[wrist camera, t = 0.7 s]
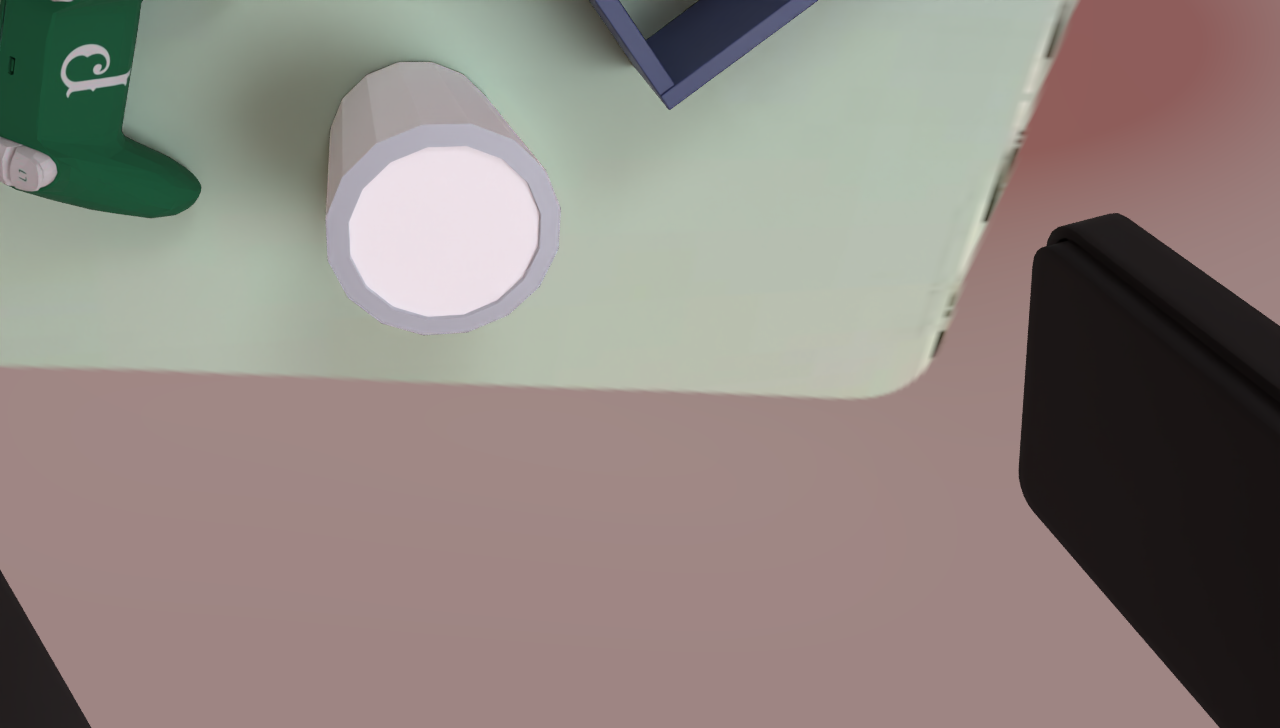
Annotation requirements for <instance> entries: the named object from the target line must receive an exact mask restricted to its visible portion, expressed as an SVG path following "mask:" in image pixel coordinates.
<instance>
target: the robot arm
mask: <svg viewBox="0 0 1280 728" xmlns="http://www.w3.org/2000/svg"><path fill="white" fill-rule="evenodd" d="M1032 268H1033V269H1032V283H1031V297H1030V311H1029V327H1028V340H1027V355H1026V370H1025V385H1024V399H1023V414H1022V429H1021V443H1020V458H1019V480H1020V485H1021V489H1022V492H1023V494H1024V497H1025V499H1026V501H1027V503H1028V505H1029V506H1030V508H1031V509H1032V510H1033V512H1034V513H1035V514H1036V515H1037V516H1038V518H1039V519H1040V520H1041V521H1042V522H1043V523H1044V524H1045V526H1046V527H1047V528H1048V529H1049V530H1050V531H1051V533H1052V534H1053V535H1054V536H1055V537H1056V538H1057V539H1058V540H1059V542H1060V543H1061V544H1062V545H1063V547H1065V549H1066V550H1067V551H1068V552H1069V553H1070V554H1071V556H1072V557H1073V558H1074V559H1075V560H1076V562H1077V563H1078V564H1079V565H1080V566H1081V567H1082V569H1083V570H1084V571H1085V572H1086V573H1087V574H1088V575H1089V577H1090V578H1091V579H1092V580H1093V581H1094V582H1095V584H1096V585H1097V586H1098V587H1099V588H1100V589H1101V591H1102V592H1103V593H1104V594H1105V595H1106V596H1107V598H1108V599H1109V600H1110V601H1111V602H1112V603H1113V604H1114V606H1115V607H1116V608H1117V609H1118V610H1119V611H1120V612H1121V614H1122V615H1123V616H1124V617H1125V618H1126V620H1127V621H1128V622H1129V623H1130V624H1131V625H1132V627H1133V628H1134V629H1135V630H1136V631H1137V632H1138V633H1139V635H1140V636H1141V637H1142V638H1143V639H1144V640H1145V642H1146V643H1147V644H1148V645H1149V646H1150V647H1151V648H1152V650H1153V651H1154V652H1155V653H1156V654H1157V656H1158V657H1159V658H1160V659H1161V660H1162V661H1163V662H1164V664H1165V665H1166V666H1167V667H1168V668H1169V669H1170V671H1171V672H1172V673H1173V674H1174V675H1175V676H1176V678H1177V679H1178V680H1179V681H1180V682H1181V683H1182V684H1183V686H1184V687H1185V688H1186V689H1187V690H1188V691H1189V693H1190V694H1191V695H1192V696H1193V697H1194V698H1195V699H1196V701H1197V702H1198V703H1199V704H1200V705H1201V706H1202V707H1203V709H1204V710H1205V711H1206V712H1207V713H1208V715H1209V716H1210V717H1211V718H1212V719H1213V720H1214V722H1215V723H1216V724H1217V725H1218V726H1219V727H1220V728H1280V326H1279V325H1278V324H1276V323H1275V322H1273V321H1272V320H1270V319H1269V318H1268V317H1266V316H1265V315H1263V314H1262V313H1261V312H1259V311H1258V310H1256V309H1255V308H1254V307H1252V306H1250V305H1249V304H1248V303H1247V302H1245V301H1244V300H1242V299H1241V298H1239V297H1238V296H1236V295H1235V294H1234V293H1233V292H1231V291H1230V290H1228V289H1227V288H1225V287H1224V286H1223V285H1221V284H1220V283H1218V282H1217V281H1216V280H1214V279H1213V278H1211V277H1210V276H1209V275H1207V274H1206V273H1204V272H1203V271H1202V270H1200V269H1199V268H1197V267H1196V266H1195V265H1193V264H1192V263H1190V262H1189V261H1188V260H1186V259H1184V258H1183V257H1182V256H1181V255H1179V254H1178V253H1176V252H1175V251H1173V250H1172V249H1171V248H1169V247H1168V246H1166V245H1165V244H1164V243H1162V242H1161V241H1159V240H1158V239H1157V238H1155V237H1154V236H1152V235H1151V234H1150V233H1148V232H1147V231H1145V230H1144V229H1143V228H1141V227H1139V226H1138V225H1137V224H1136V223H1134V222H1133V221H1131V220H1130V219H1129V218H1127V217H1125V216H1123V215H1120V214H1118V213H1113V214H1107V215H1103V216H1099V217H1095V218H1092V219H1088V220H1084V221H1080V222H1076V223H1072V224H1068V225H1065V226H1061V227H1058V228H1057V229H1055V230H1054V231H1052V233H1051V235H1050V237H1049V239H1048V241H1047V246H1046V247H1042V248H1041V249H1039V250H1038V251H1037V252H1036V254H1035V256H1034V261H1033V267H1032ZM0 728H91V727H90V725H89V723H88V721H87V720H86V718H85V716H84V714H83V712H82V711H81V709H80V707H79V706H78V704H77V702H76V700H75V699H74V697H73V695H72V693H71V692H70V690H69V688H68V687H67V685H66V683H65V681H64V680H63V678H62V676H61V674H60V673H59V671H58V669H57V667H56V666H55V664H54V662H53V660H52V659H51V657H50V655H49V654H48V652H47V650H46V648H45V647H44V645H43V643H42V642H41V640H40V638H39V636H38V635H37V633H36V631H35V629H34V628H33V626H32V624H31V622H30V621H29V619H28V617H27V615H26V614H25V612H24V610H23V608H22V607H21V605H20V604H19V602H18V600H17V598H16V597H15V595H14V593H13V591H12V589H11V588H10V586H9V584H8V583H7V581H6V579H5V577H4V576H3V574H2V572H1V570H0Z"/></svg>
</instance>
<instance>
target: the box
mask: <svg viewBox="0 0 1280 728" xmlns="http://www.w3.org/2000/svg"><path fill="white" fill-rule="evenodd" d="M589 1H590V3H591V4H592V6H593V7H594V9H595V10H596V12H597V13H598V14H599V16H600V17H601V19H602V20H603V22H604V23H605V25H606V26H607V28H608V29H609V31H610V32H611V33H612V35H613V36H614V38H615V39H616V41H617V42H618V44H619V45H620V47H621V48H622V50H623V51H624V52H625V54H626V55H627V57H628V58H629V60H630V61H631V63H632V64H633V66H634V67H635V68H636V70H637V71H638V72H639V73H640V75H641V76H642V77H643V78H644V80H645V81H646V82H647V83H648V84H649V86H650V87H651V88H652V89H653V91H654V92H655V93H656V94H657V96H658V97H659V98H660V99H661V101H662V102H663V103H664V104H665V106H666V107H667V108H668V109H669V110H670V109H672V108H673V107H675V106H676V105H677V104H679V103H680V102H681V101H683V100H684V99H685V98H687V97H688V96H689V95H691V94H692V93H693V92H695V91H696V90H698V89H699V88H700V87H702V86H703V85H704V84H706V83H707V82H708V81H710V80H711V79H712V78H714V77H715V76H716V75H718V74H719V73H721V72H722V71H723V70H725V69H726V68H727V67H729V66H730V65H731V64H733V63H734V62H735V61H737V60H738V59H739V58H741V57H742V56H744V55H745V54H746V53H748V52H749V51H750V50H752V49H753V48H754V47H756V46H757V45H758V44H760V43H761V42H762V41H764V40H765V39H767V38H768V37H769V36H771V35H772V34H773V33H775V32H776V31H777V30H779V29H780V28H781V27H783V26H784V25H785V24H787V23H788V22H790V21H791V20H792V19H794V18H795V17H796V16H798V15H799V14H800V13H802V12H803V11H804V10H806V9H807V8H808V7H810V6H811V5H813V4H814V3H815V2H817V1H818V0H699V1H698V2H697V3H695V4H694V5H693V6H691V7H690V8H689V9H687V10H686V11H685V12H683V13H682V14H681V15H679V16H678V17H677V18H675V19H674V20H673V21H671V22H670V23H669V24H667V25H666V26H665V27H663V28H662V29H661V30H659V31H658V32H657V33H655V34H654V35H652V36H651V37H650V38H648V39H647V40H645V39H644V37H643V36H642V34H641V33H640V31H639V30H638V28H637V27H636V25H635V24H634V22H633V21H632V19H631V18H630V16H629V15H628V13H627V12H626V10H625V9H624V7H623V6H622V4H621V3H620V1H619V0H589Z"/></svg>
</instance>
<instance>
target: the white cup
mask: <svg viewBox="0 0 1280 728" xmlns="http://www.w3.org/2000/svg"><path fill="white" fill-rule="evenodd" d="M560 215H561V207H560V205H559V202H558V200H557V197H556V195H555V192H554V190H553V187H552V185H551V182H550V179H549V177H548V174H547V172H546V170H545V168H544V167H543V166H542V165H541V163H540V162H539V161H538V160H537V159H536V157H535V156H534V155H533V154H532V152H531V151H530V150H529V149H528V147H527V146H526V145H525V144H524V142H523V141H522V140H521V139H520V138H519V136H518V135H517V134H516V133H515V131H514V130H513V129H512V128H511V126H510V125H509V124H508V123H507V122H506V120H505V119H504V118H503V117H502V115H501V114H500V113H499V112H498V110H497V109H496V108H495V107H494V105H493V104H492V103H491V102H490V101H489V99H488V98H487V97H486V96H485V95H484V94H483V93H482V92H481V91H480V90H479V89H478V88H477V87H476V86H475V85H474V84H473V83H472V82H471V81H470V80H469V79H468V78H467V77H466V76H465V75H464V74H461V73H459V72H456V71H454V70H451V69H449V68H446V67H444V66H441V65H439V64H436V63H433V62H397V63H395V64H392V65H390V66H388V67H385V68H383V69H380V70H378V71H375V72H373V73H370V74H368V75H366V76H365V77H364V78H363V79H362V80H361V81H360V82H359V83H358V84H357V85H356V86H355V87H354V88H353V89H352V90H351V91H350V92H349V93H348V94H347V95H346V96H345V97H344V98H343V99H342V101H341V103H340V106H339V108H338V111H337V113H336V116H335V118H334V121H333V123H332V126H331V128H330V145H329V164H328V182H327V201H326V236H327V255H328V262H329V264H330V266H331V267H332V269H333V271H334V273H335V275H336V277H337V278H338V280H339V282H340V284H341V286H342V288H343V289H344V291H345V293H346V295H347V297H348V298H349V299H351V300H352V301H353V302H354V303H356V304H357V305H358V306H360V307H361V308H362V309H364V310H365V311H366V312H368V313H369V314H370V315H371V316H373V317H374V318H375V319H377V320H378V321H379V322H381V323H382V324H386V325H389V326H393V327H396V328H400V329H403V330H407V331H411V332H414V333H418V334H421V335H434V334H449V333H464V332H469V331H472V330H474V329H477V328H479V327H481V326H484V325H486V324H488V323H491V322H493V321H496V320H498V319H500V318H503V317H505V316H507V315H509V314H510V313H511V312H512V311H513V310H514V309H516V308H517V307H518V306H519V305H520V304H521V303H522V302H523V301H524V300H525V299H526V298H528V297H529V296H530V295H531V294H532V293H533V292H534V291H535V290H536V289H537V288H539V287H540V285H541V283H542V281H543V279H544V277H545V275H546V273H547V271H548V269H549V267H550V265H551V263H552V261H553V259H554V257H555V255H556V253H557V251H558V249H559V232H560Z"/></svg>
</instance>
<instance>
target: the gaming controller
mask: <svg viewBox="0 0 1280 728" xmlns="http://www.w3.org/2000/svg"><path fill="white" fill-rule="evenodd" d="M142 1H143V0H1V2H0V181H1V182H3V183H4V184H6V185H8V186H10V187H12V188H14V189H16V190H19V191H23V192H26V193H30V194H33V195H37V196H40V197H44V198H47V199H51V200H54V201H58V202H62V203H66V204H71V205H75V206H79V207H83V208H87V209H91V210H97V211H103V212H110V213H116V214H124V215H131V216H138V217H146V218H156V217H164V216H172V215H176V214H179V213H180V212H182V211H184V210H186V209H188V208H189V207H190V206H192V205H193V204H194V203H195V201H196V200H197V198H198V197H199V195H200V192H201V184H200V182H199V181H198V179H197V178H196V177H195V176H194V175H193V174H192V173H191V172H190V171H189V170H188V169H186V168H185V167H184V166H182V165H181V164H179V163H178V162H176V161H174V160H173V159H171V158H170V157H168V156H166V155H164V154H161V153H159V152H157V151H155V150H153V149H150V148H148V147H146V146H144V145H142V144H140V143H138V142H135V141H133V140H131V139H129V138H127V137H126V136H124V135H123V133H122V131H121V130H122V124H123V118H124V112H125V105H126V99H127V93H128V87H129V80H130V74H131V68H132V62H133V56H134V49H135V43H136V37H137V31H138V23H139V16H140V8H141V2H142Z"/></svg>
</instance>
